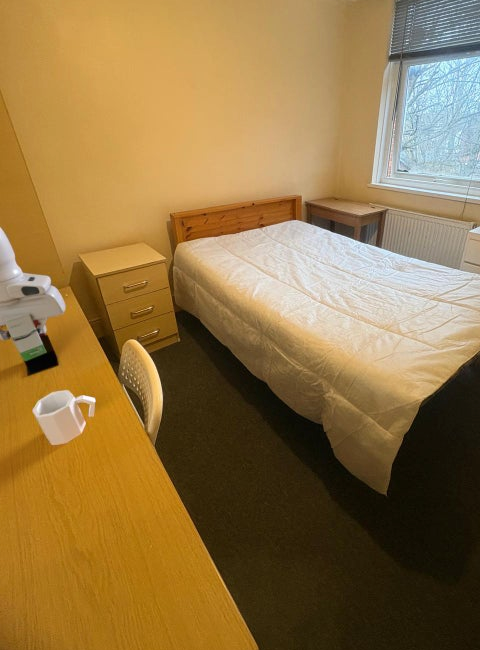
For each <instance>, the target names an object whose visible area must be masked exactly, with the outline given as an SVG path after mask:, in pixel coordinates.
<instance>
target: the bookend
mask: <svg viewBox="0 0 480 650" xmlns="http://www.w3.org/2000/svg"><path fill="white" fill-rule="evenodd" d="M40 339H41V341H42V343H43V346H44V348H45V350H46V353H44V354H42V355H40V356H37V357H35V358H32V359H30V360H27V361H24V360H23V358H22V357H21V359H22V360H23V363H24V364H25V366H26V375H27V377H29V376H32V375H35V374H38V373H41V372H43V371H46V370H49V369H52V368H56V367H58V366H60V363H59V360H58V356H57V353H56V350H55V348H54V345H53V344H52V342H51V339H50V337H49V335H48V334H46V335H44V336H41V337H40Z"/></svg>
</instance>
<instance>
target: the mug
mask: <svg viewBox="0 0 480 650" xmlns="http://www.w3.org/2000/svg"><path fill="white" fill-rule="evenodd" d="M80 403H84V404H86V405H89V408H88V417H89V418H94V417H95V411H96V397H92V396H89V395H83V394H82V395H79V396H77V397H75V395H74V394H73V393H72V392H71V391H70V390H69V389H64V390H58V391H57V390H56V391H52V392H50V393H48V394H47V395H45V396H44V397H42V398H40V399H39V400H37V402H36V404H35V406H34V407H33V408H32V410H31V411H32V413H33V415H34V417H35V419H36V421H37V423H38V425H39V426H40V428H41V430H42V432H43V434H44V436H45V438H46V439H47V441H48V442H49V444H51V446H58V445H64V444H65V445H66V444H68V443H70V441H72V440H74V439H75V438H77V437H79V436H80V435H82V433H83V431H84V429H85V427H86V425H87V423H86V419H85V418H84V415H83V412H82V410H81V409H80V407H79V404H80Z"/></svg>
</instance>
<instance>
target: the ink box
mask: <svg viewBox="0 0 480 650" xmlns="http://www.w3.org/2000/svg"><path fill="white" fill-rule="evenodd" d="M3 320H4V322H5V324H6V325H5V327H6V329H7V331H9V334H10V335H11V337H10V339H11V340H12V342H13V344H14V346H15V348H16V349H17V352H18V354H19V355H20V357H21V359H22V358H23V359H22V361H23V362H24V361H27V360H30V359H32V358H35V357H37V356H40V355H42V354H44V353H46V350H45V348H44V346H43V343H42V341H41V339H40V336H39V334H38V332H37V330H36V327H35V325H34V323H33V321H32V318H31V316H30V314H29V313H28V314H20V315H12V316H4V317H3Z"/></svg>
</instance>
